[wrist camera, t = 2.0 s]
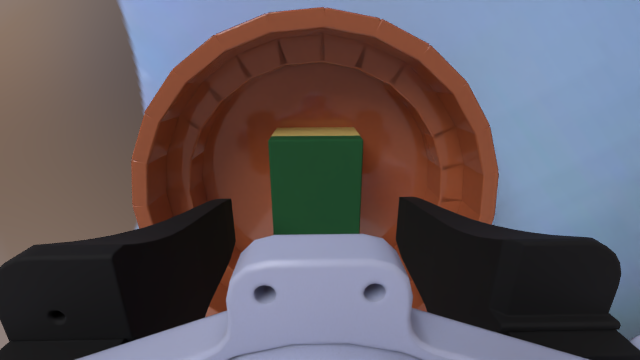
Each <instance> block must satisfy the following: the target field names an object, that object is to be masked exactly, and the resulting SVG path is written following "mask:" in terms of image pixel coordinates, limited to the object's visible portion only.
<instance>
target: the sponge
mask: <svg viewBox="0 0 640 360" xmlns="http://www.w3.org/2000/svg"><path fill="white" fill-rule="evenodd" d="M268 148H269V166H270V183H271V200H272V217H273V235H305V234H360V211H361V188H362V164H363V139H362V138H361V136H360V135H359V133H358V132H357V131H356V129H355V128H354V127H295V128H276V130H275V131H274V133H273V134H272V136H271V137H270V139H269V140H268Z"/></svg>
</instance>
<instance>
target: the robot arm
mask: <svg viewBox="0 0 640 360" xmlns="http://www.w3.org/2000/svg"><path fill="white" fill-rule="evenodd" d="M235 242H236V239H235V229H234V219H233V210H232V200H231V199H214V200H211V201H208V202H206V203H203V204H201V205H199V206H197V207H195V208H193V209H190V210H188V211H186V212H184V213H181V214H179V215H177V216H174V217H172V218H169V219H167V220H164V221H162V222H159V223H156V224H153V225H150V226H147V227H144V228H140V229H137V230H133V231H128V232H124V233H120V234H116V235H111V236H106V237H101V238H95V239H88V240H81V241H74V242H64V243H54V244H53V243H52V244H41V245H33V246H32V247H30V248H28V249H27V250H25V251H23V252H22V253H20V254H18V255H17V256H16V257H14V258H12V259H10V260H9V261H7V262H5V263H4V264H3V265H2V266H1V267H0V320H1V322H2V325H3V327H4V330H5V332H6V334H7V337H8V339H9V341H10V342H9V343H7V344H6V345H5V346H4V347H3V348H2V349H1V350H0V360H640V335H639V336H636V337H634V338H632V339H631V340H630V341H628V340H627V339H626V338H625V337H624V336H622V335H621V334H620V333H619V332H618V331H617V330H615V329H619V328H620V326H621V325H620V323H619V321H618V320H616V319H615V318H614V317H613V316H612V315H610V314H609V310H610V307H611V305H612V302H613V299H614V297H615V294H616V291H617V289H618V286H619V282H620V277H621V268H620V262H619V260H618V258H617V256H616V254H615V253H614V252H613V251H612V250H610V249H609V248H608V247H607V246H605V245H603V244H602V243H600V242H598V241H597V240H595V239H593V238H589V237H573V236H558V235H547V234H539V233H531V232H525V231H518V230H513V229H508V228H503V227H499V226H495V225H491V224H487V223H484V222H480V221H477V220H473V219H470V218H467V217H465V216H462V215H459V214H457V213H454V212H452V211H449V210H447V209H444V208H442V207H440V206H437V205H435V204H433V203H430V202H428V201H426V200H423V199H420V198H417V197H399V206H398V218H397V229H396V242H397V245H398V249H399V252H400V255H401V258H402V260H403V262H404V264H405V266H406V268H407V270H408V272H409V274H410V276H411V278H412V280H413V282H414V284H415V286H416V288H417V290H418V292H419V294H420V296H421V298H422V300H423V302H424V304H425V307H426V310H427V312H425V311H421V310H418V309H414V308H412V301H413V294H412V289H411V285H410V280H409V277H408V275H407V272H406V270H405V268H404V266H403V264H402V262H401V260H400V257H399V255H398V253H397V251H396V250H395V249H394V248H393V247H392V246H391V245H390V244H388V243H387V242H386V241H385V240H384V239H383V238H379V237H375V236H371V235H366V234H305V235H272V236H268V237H264V238H260V239H256V240H254V241H253V242H252V243H251V244H250V245H249V246H248V247H247V248H246V249H245V250H244V251H243V252H241V254H240V257H239V259H238V262H237V264H236V266H235V269H234V271H233V274H232V276H231V279H230V282H229V287H228V292H227V297H226V305H227V311H224V312H221V313H217V314H214V315H211V316H208V317H205V316H206V313H207V310H208V307H209V305H210V303H211V300H212V298H213V296H214V294H215V292H216V290H217V287H218V285H219V283H220V281H221V279H222V277H223V275H224V273H225V271H226V268H227V266H228V264H229V262H230V260H231V256H232V253H233V249H234V246H235Z"/></svg>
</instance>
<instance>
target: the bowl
mask: <svg viewBox="0 0 640 360" xmlns="http://www.w3.org/2000/svg"><path fill="white" fill-rule="evenodd" d="M489 126H490V125H489V123H488V121H487V119H486V117H485V115H484V113H483V111H482V109H481V107H480V105H479V103H478V102H477V100H476V98H475V96H474V94H473V92H472V90H471V88H470V86H469V84H468V83H467V81H466V80H465V79H464V78H463V77H462V76H461V75H460V74H459V73H458V72H457V71H456V70H455V69H454V68H453V67H452V66H451V65H450V64H449V63H448V62H447V61H446V60H445V59H444V58H443V57H442V56H441V55H440V54H439V53H438V52H437V51H436V50H435V49H434V48H433V47H432V46H431V45H429V44H428V43H426V42H425V41H423V40H421V39H419V38H417V37H415V36H413V35H411V34H410V33H408V32H406V31H404V30H402V29H400V28H398V27H397V26H395V25H393V24H391V23H389V22H387V21H385V20H383V19H381V20H380V18H377V17H372V16H367V15H362V14H357V13H352V12H347V11H342V10H337V9H332V8H324V7H319V8H309V9H299V10H289V11H278V12H268V13H267V14H263V15H260V16H258V17H256V18H253V19H251V20H248V21H246V22H244V23H241V24H239V25H236V26H234V27H232V28H229V29H227V30H224V31H222V32H220V33H217V34H216V35H213V36H212V37H211V38H209V39H208V40H207V41H206V42H205V43H203V44H202V45H201V46H200V47H199V48H197V49H196V50H195V51H194V52H193V53H191V54H190V55H189V56H188V57H186V58H185V59H184V60H183V61H182V62H180V63H179V64H178V65H177V66H176V67H174V68H173V70H172V71H171V72H170V74H169V75H168V77H167V78H166V80H165V81H164V83H163V84H162V86H161V88H160V89H159V91H158V92H157V94H156V95H155V97H154V98H153V100H152V101H151V103H150V105H149V106H148V108H147V109H146V111H145V114H144V116H143V120H142V124H141V127H140V131H139V134H138V138H137V141H136V145H135V149H134V152H133V156H132V161H131V166H132V204H133V209H134V213H135V216H136V219H137V222H138V226H139V229H140V228H144V227H147V226H150V225H153V224H156V223H159V222H162V221H164V220H167V219H169V218H172V217H174V216H177V215H179V214H181V213H184V212H186V211H188V210H190V209H193V208H195V207H197V206H199V205H201V204H203V203H206V202H208V201H211V200H214V199H231V200H232V210H233V219H234V229H235V239H236V242H235V246H234V249H233V253H232V256H231V260H230V262H229V264H228V266H227V268H226V271H225V273H224V275H223V277H222V279H221V281H220V283H219V285H218V287H217V290H216V292H215V294H214V296H213V298H212V300H211V303H210V305H209V307H208V310H207V313H206V316H205V317H208V316H211V315H214V314H217V313H221V312H224V311H227V305H226V297H227V292H228V287H229V282H230V279H231V276H232V274H233V271H234V269H235V266H236V264H237V262H238V259H239V257H240V254H241V252H243V251H244V250H245V249H246V248H247V247H248V246H249V245H250V244H251V243H252V242H253V241H254V240H256V239H260V238H264V237H268V236H272V235H273V217H272V200H271V183H270V166H269V148H268V140H269V139H270V137H271V136H272V134H273V133H274V131H275V130H276V128H295V127H354V128H355V129H356V131H357V132H358V133H359V135H360V136H361V138H362V139H363V164H362V188H361V211H360V234H366V235H371V236H375V237H379V238H383V239H384V240H385V241H386V242H387V243H388V244H390V245H391V246H392V247H393V248H394V249H395V250H396V251H397V253H398V255H399V257H400V260H401V262H402V264H403V266H404V268H405V270H406V272H407V275H408V277H409V280H410V285H411V289H412V294H413V301H412V308H414V309H418V310H421V311H425V312H427V310H426V307H425V304H424V302H423V300H422V298H421V296H420V294H419V292H418V290H417V288H416V286H415V284H414V282H413V280H412V278H411V276H410V274H409V272H408V270H407V268H406V266H405V264H404V262H403V260H402V258H401V255H400V252H399V249H398V245H397V242H396V229H397V218H398V206H399V197H417V198H420V199H423V200H426V201H428V202H430V203H433V204H435V205H437V206H440V207H442V208H444V209H447V210H449V211H452V212H454V213H457V214H459V215H462V216H465V217H467V218H470V219H473V220H477V221H480V222H484V223H487V224H492V222H493V219H494V215H495V206H496V197H497V187H498V177H499V173H498V166H497V161H496V155H495V150H494V144H493V139H492V134H491V128H490V127H489Z"/></svg>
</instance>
